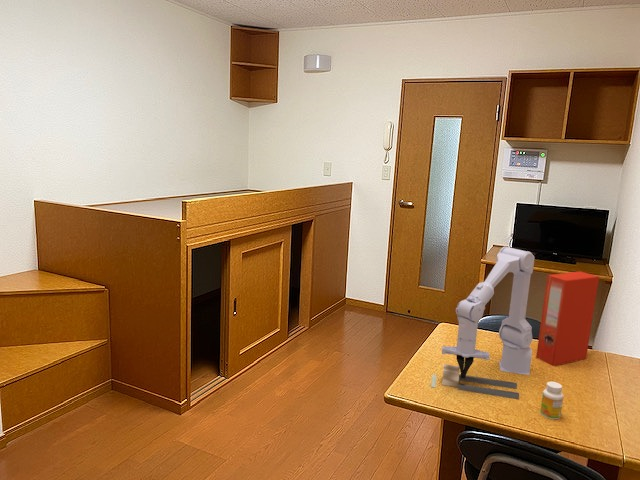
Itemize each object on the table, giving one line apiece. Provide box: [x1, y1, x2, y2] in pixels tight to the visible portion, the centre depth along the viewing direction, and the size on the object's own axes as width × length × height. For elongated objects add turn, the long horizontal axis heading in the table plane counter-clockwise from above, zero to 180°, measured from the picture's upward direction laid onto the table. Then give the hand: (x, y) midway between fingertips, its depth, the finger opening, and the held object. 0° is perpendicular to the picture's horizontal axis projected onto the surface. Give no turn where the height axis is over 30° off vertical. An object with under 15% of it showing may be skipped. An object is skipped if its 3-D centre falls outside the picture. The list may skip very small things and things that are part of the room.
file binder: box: [535, 270, 600, 367], centre depth 179 cm, size 8×17×32 cm, turn 115°
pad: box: [430, 373, 437, 389], centre depth 160 cm, size 8×9×1 cm
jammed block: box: [441, 363, 460, 388], centre depth 159 cm, size 5×5×5 cm
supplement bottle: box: [540, 381, 564, 420], centre depth 142 cm, size 5×5×10 cm
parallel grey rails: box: [457, 373, 520, 400], centre depth 156 cm, size 18×8×2 cm, turn 74°
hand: (463, 377), depth 158 cm, fingers closed
